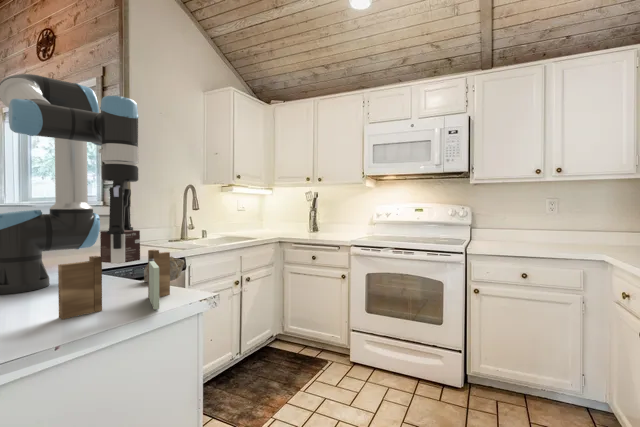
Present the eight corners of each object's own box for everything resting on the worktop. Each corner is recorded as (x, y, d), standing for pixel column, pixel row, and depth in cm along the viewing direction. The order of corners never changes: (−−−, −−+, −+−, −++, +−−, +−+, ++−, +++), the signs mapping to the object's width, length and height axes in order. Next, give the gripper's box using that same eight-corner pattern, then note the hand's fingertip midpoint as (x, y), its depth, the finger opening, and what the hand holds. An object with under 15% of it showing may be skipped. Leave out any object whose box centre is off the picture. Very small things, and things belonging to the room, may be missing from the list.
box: (118, 264, 78) (118, 232, 78) (99, 262, 80) (99, 231, 80) (141, 260, 84) (140, 230, 83) (122, 258, 86) (122, 229, 85)
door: (148, 299, 92) (148, 258, 92) (153, 298, 93) (153, 258, 93) (153, 311, 82) (153, 265, 82) (159, 310, 83) (159, 265, 83)
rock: (144, 281, 108) (154, 250, 111) (139, 281, 113) (148, 251, 116) (182, 288, 115) (190, 259, 118) (176, 287, 120) (183, 259, 123)
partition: (58, 317, 77) (57, 260, 77) (165, 293, 99) (165, 248, 99) (63, 319, 76) (62, 261, 76) (170, 294, 98) (170, 249, 97)
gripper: (109, 168, 90) (110, 254, 90) (91, 157, 70) (92, 268, 71) (142, 169, 92) (142, 253, 93) (133, 160, 73) (133, 266, 74)
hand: (121, 259), depth 82 cm, fingers closed on box, 8 cm apart
